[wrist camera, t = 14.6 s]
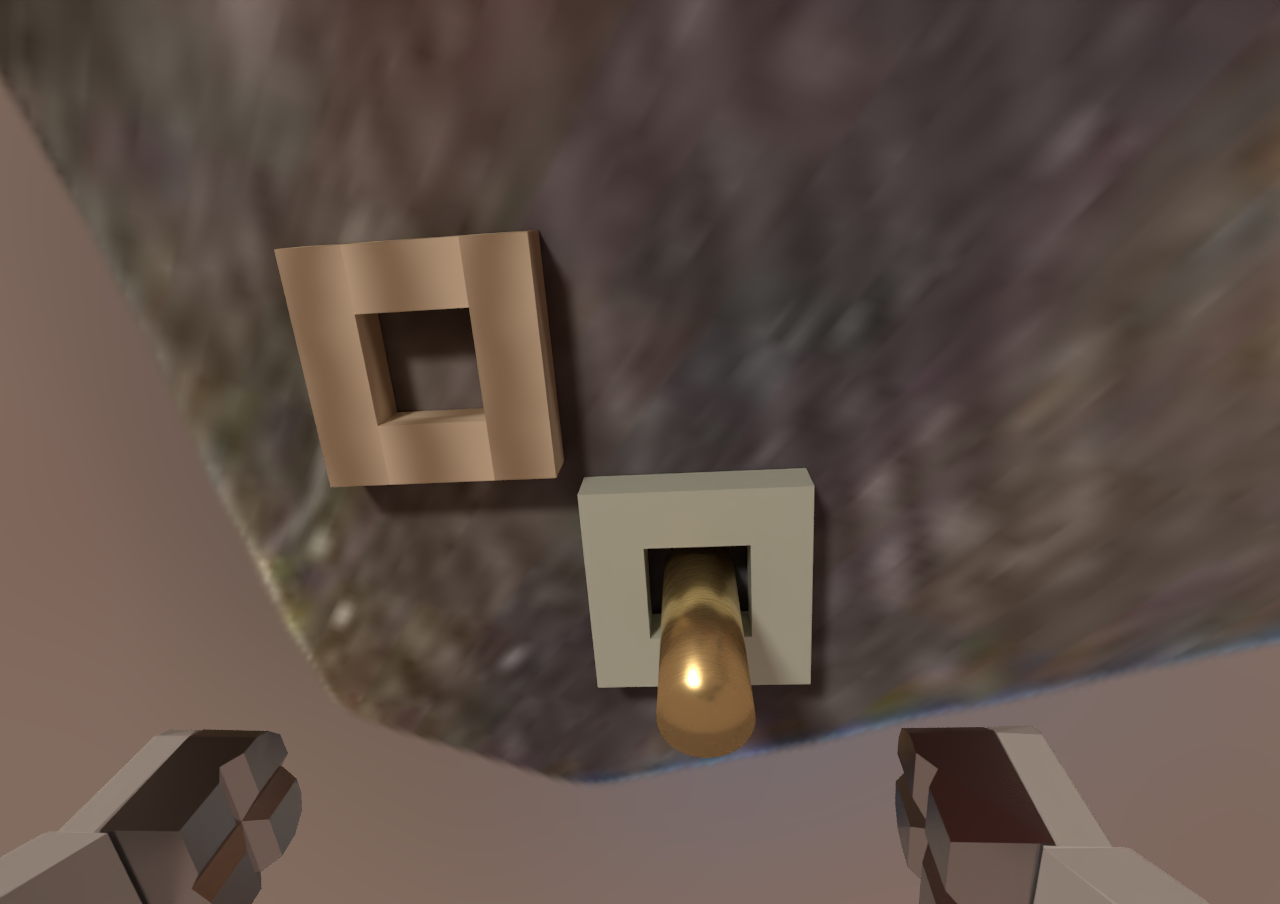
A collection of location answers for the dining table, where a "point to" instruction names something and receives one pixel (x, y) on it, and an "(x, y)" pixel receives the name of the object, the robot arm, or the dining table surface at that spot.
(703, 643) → the pin
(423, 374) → the dining table surface
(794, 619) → the socket block
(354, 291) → the birch mount
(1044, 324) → the dining table surface
